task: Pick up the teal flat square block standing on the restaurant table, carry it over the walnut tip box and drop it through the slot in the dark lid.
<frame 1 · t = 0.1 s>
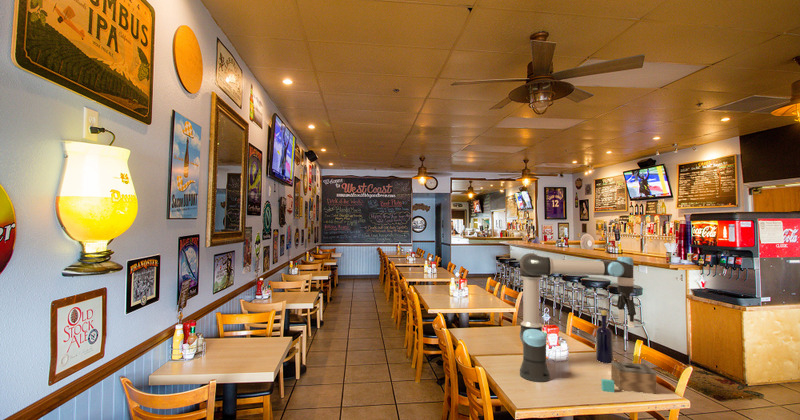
hand: (626, 324, 199), 28 cm above the table, fingers open, 13 cm apart
coin box: (633, 387, 184), on the table
teal flat square block: (607, 390, 179), on the table
bottle: (604, 361, 221), on the table
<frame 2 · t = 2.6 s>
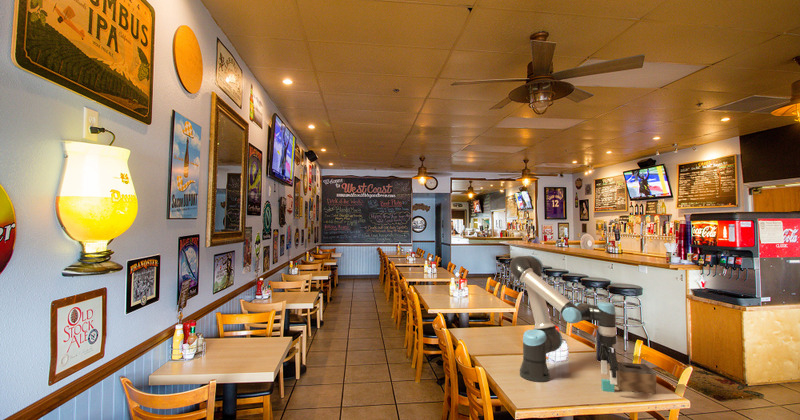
hand: (608, 378, 179), 6 cm above the table, fingers open, 13 cm apart
nothing on the table moved.
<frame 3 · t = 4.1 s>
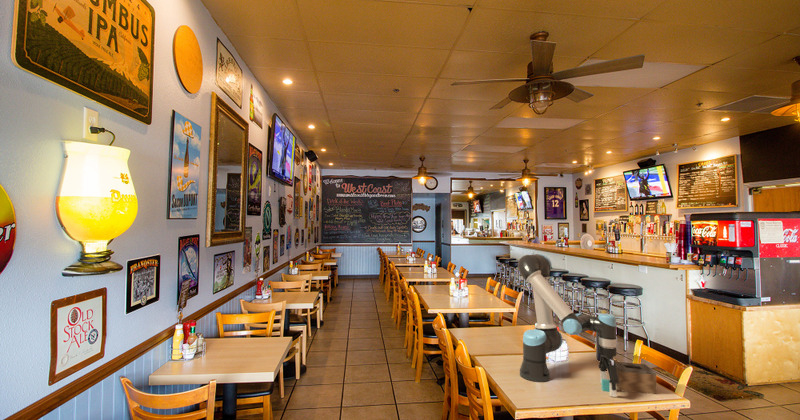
hand: (608, 390, 179), 0 cm above the table, fingers open, 13 cm apart
nothing on the table moved.
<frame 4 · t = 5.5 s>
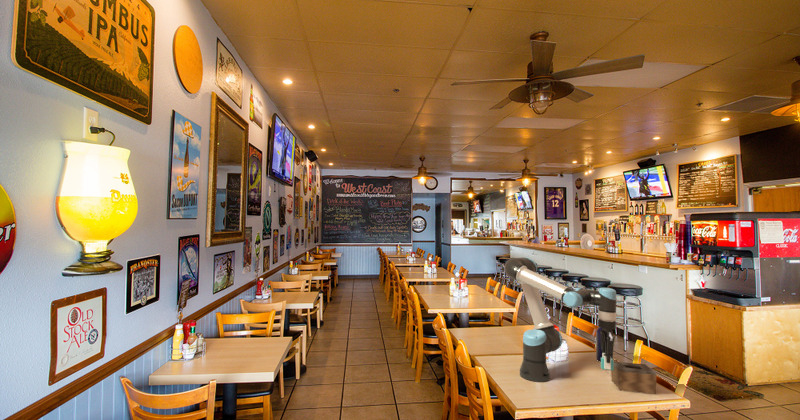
hand: (606, 367, 180), 11 cm above the table, fingers closed on teal flat square block, 2 cm apart
teal flat square block: (607, 369, 180), point 10 cm above the table, touching gripper
everything else where it was.
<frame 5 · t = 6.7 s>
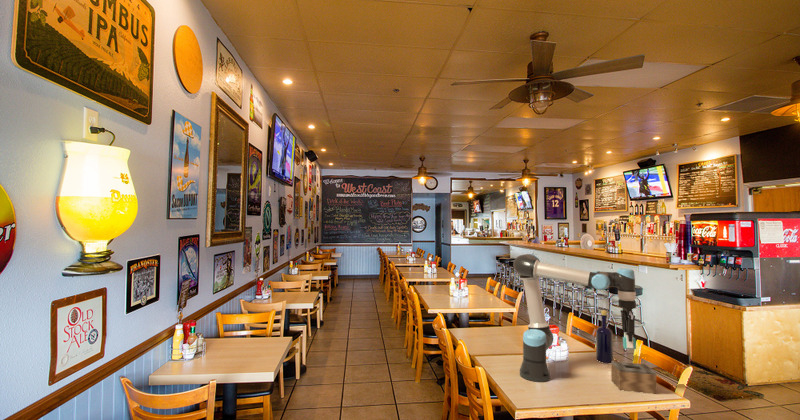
hand: (628, 346, 183), 20 cm above the table, fingers closed on teal flat square block, 2 cm apart
teal flat square block: (629, 348, 183), point 20 cm above the table, touching gripper
everything else where it was.
when the fingers open (11 cm above the table, at t = 8.3 s): teal flat square block drops 9 cm and tips over, resting on coin box.
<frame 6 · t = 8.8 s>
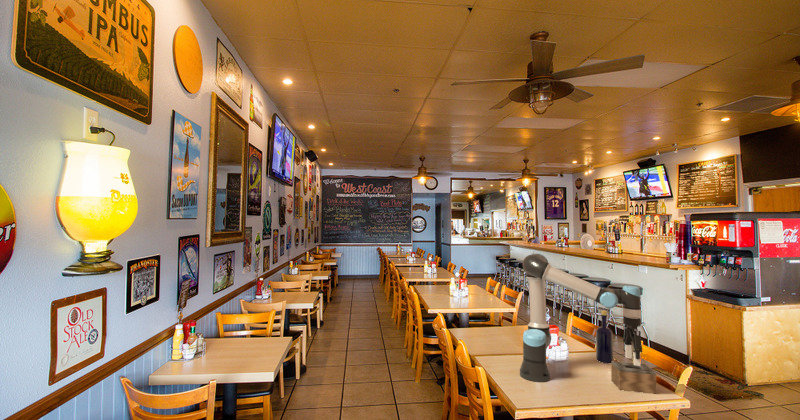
hand: (632, 361, 185), 13 cm above the table, fingers open, 10 cm apart
teal flat square block: (633, 383, 185), point 2 cm above the table, tilted 51°, touching coin box
everything else where it was.
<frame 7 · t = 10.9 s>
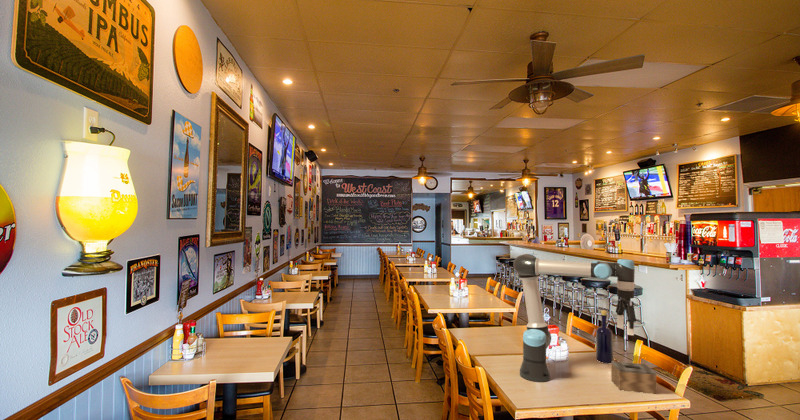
hand: (625, 331, 187), 27 cm above the table, fingers open, 13 cm apart
nothing on the table moved.
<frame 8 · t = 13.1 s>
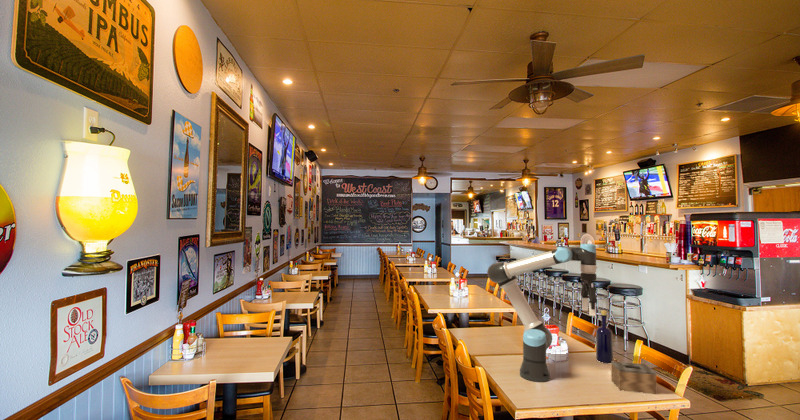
hand: (588, 312, 195), 35 cm above the table, fingers open, 13 cm apart
nothing on the table moved.
at the end: teal flat square block inside the target area on the coin box (0.7 cm from its centre), point 1.5 cm above the coin box's base; the gripper is holding nothing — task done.
